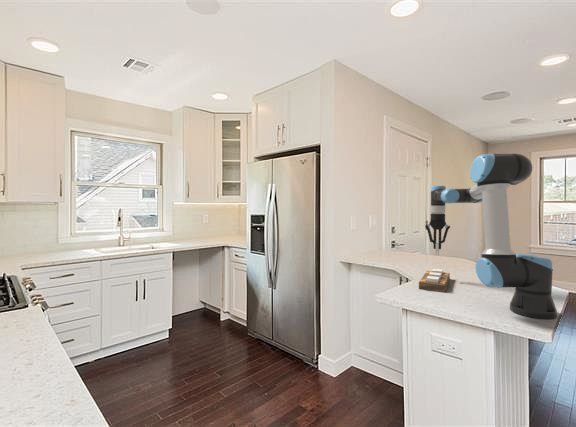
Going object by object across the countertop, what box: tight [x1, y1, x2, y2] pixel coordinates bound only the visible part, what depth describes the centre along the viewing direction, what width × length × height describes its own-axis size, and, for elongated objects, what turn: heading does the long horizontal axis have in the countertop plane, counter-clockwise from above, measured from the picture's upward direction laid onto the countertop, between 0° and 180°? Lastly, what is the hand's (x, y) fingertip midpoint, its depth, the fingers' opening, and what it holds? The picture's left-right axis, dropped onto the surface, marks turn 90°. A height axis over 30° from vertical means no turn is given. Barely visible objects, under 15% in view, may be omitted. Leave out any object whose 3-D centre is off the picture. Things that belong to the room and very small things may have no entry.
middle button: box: [429, 272, 441, 279], centre depth 174 cm, size 5×5×3 cm
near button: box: [427, 276, 439, 283], centre depth 166 cm, size 5×5×3 cm
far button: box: [430, 268, 444, 275], centre depth 183 cm, size 5×5×3 cm
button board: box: [418, 270, 451, 293], centre depth 174 cm, size 30×12×4 cm, turn 149°
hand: (437, 254), depth 183 cm, fingers closed
